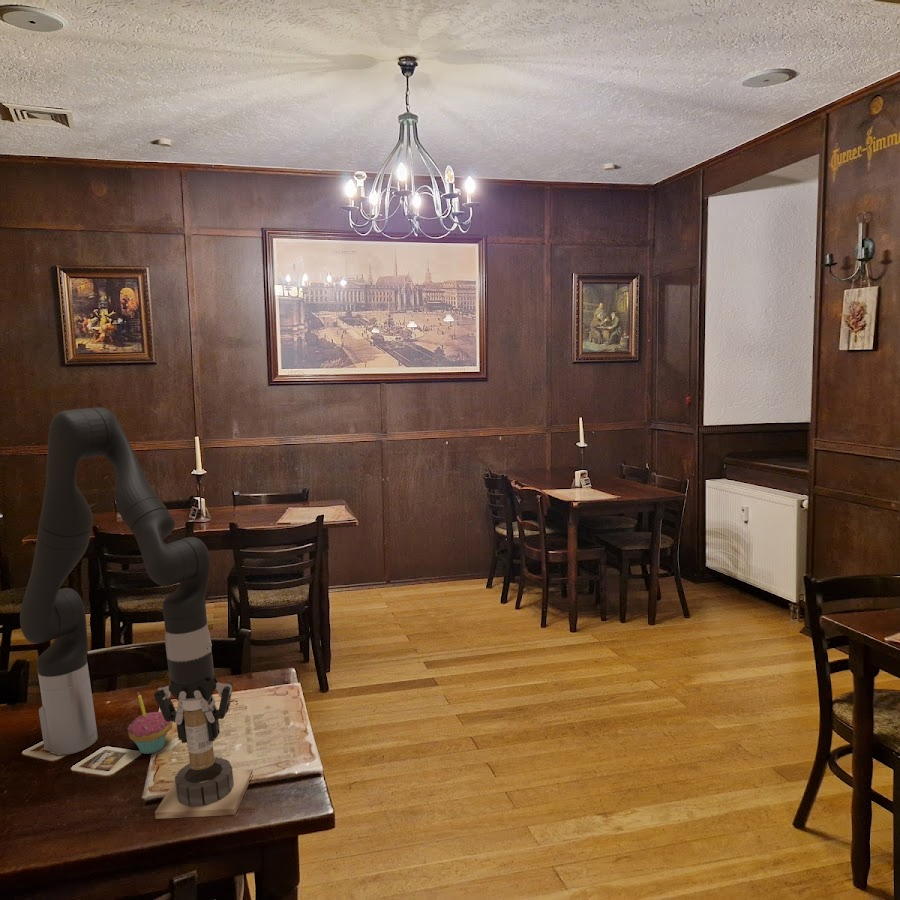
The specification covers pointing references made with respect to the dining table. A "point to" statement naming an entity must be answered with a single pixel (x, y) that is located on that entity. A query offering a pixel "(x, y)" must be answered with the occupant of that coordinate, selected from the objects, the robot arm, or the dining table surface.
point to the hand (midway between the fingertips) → (199, 739)
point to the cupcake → (149, 730)
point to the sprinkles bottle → (197, 735)
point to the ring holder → (205, 791)
